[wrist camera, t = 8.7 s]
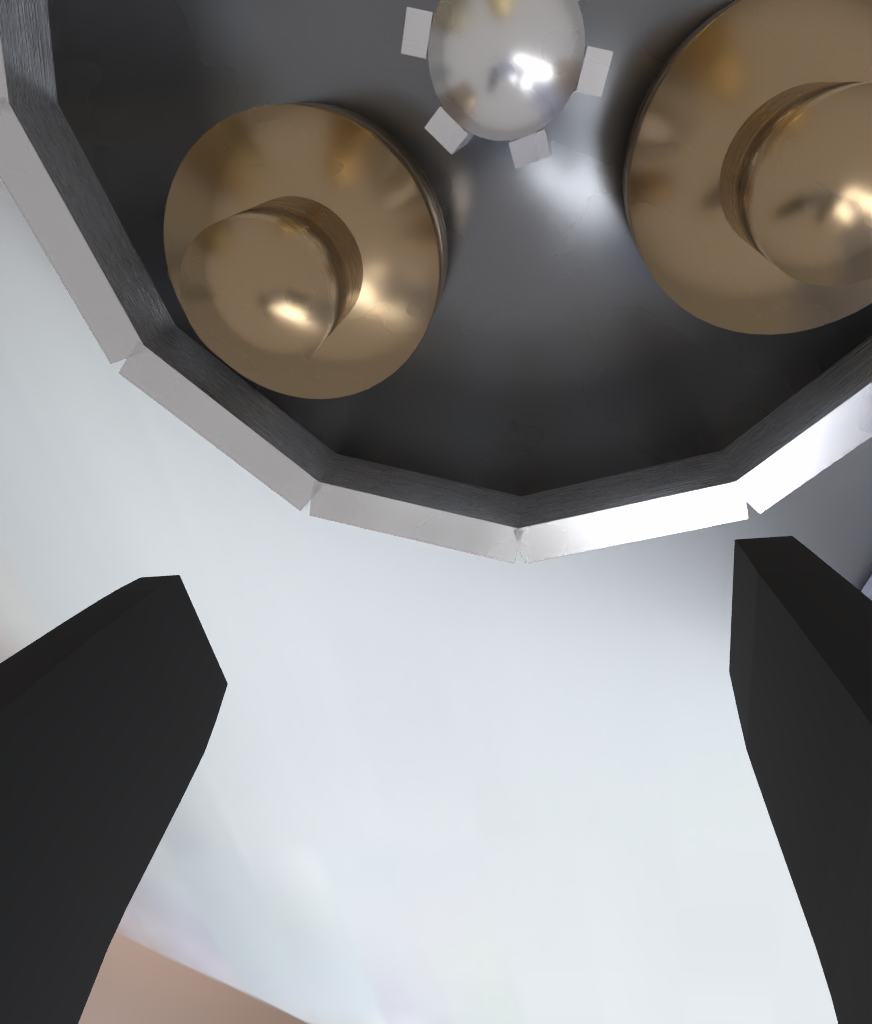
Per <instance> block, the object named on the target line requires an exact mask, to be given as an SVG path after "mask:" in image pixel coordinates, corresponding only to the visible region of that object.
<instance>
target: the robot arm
mask: <svg viewBox="0 0 872 1024" xmlns="http://www.w3.org/2000/svg"><path fill="white" fill-rule="evenodd" d="M729 672H730V677H731V681H732V686H733V691H734V696H735V700H736V705H737V710H738V714H739V719H740V723H741V727H742V732H743V736H744V740H745V745H746V749H747V752H748V755H749V758H750V761H751V764H752V767H753V770H754V773H755V776H756V778H757V781H758V784H759V787H760V790H761V793H762V796H763V799H764V801H765V804H766V807H767V810H768V813H769V816H770V819H771V821H772V824H773V827H774V830H775V833H776V836H777V838H778V841H779V844H780V847H781V850H782V853H783V855H784V858H785V861H786V864H787V867H788V870H789V872H790V875H791V878H792V881H793V884H794V887H795V889H796V892H797V895H798V898H799V901H800V904H801V906H802V909H803V912H804V915H805V918H806V920H807V923H808V926H809V929H810V932H811V935H812V937H813V940H814V943H815V946H816V949H817V952H818V955H819V959H820V962H821V965H822V968H823V972H824V975H825V978H826V981H827V984H828V988H829V991H830V994H831V997H832V1001H833V1005H834V1009H835V1013H836V1017H837V1020H838V1024H872V575H871V577H870V578H869V580H868V581H867V583H866V584H865V586H864V587H863V589H862V590H861V591H859V590H858V589H857V588H856V587H854V586H853V585H852V584H851V583H849V582H848V581H847V580H846V579H844V578H843V577H842V576H841V575H840V574H838V573H837V572H836V571H835V570H833V569H832V568H831V567H830V566H829V565H827V564H826V563H825V562H824V561H822V560H821V559H820V558H819V557H818V556H816V555H815V554H814V553H813V552H812V551H810V550H809V549H808V548H807V547H805V546H804V545H803V544H802V543H800V542H799V541H798V540H797V539H795V538H794V537H793V536H785V537H769V538H753V539H738V540H735V548H734V571H733V595H732V619H731V643H730V666H729ZM226 687H227V681H226V679H225V677H224V675H223V672H222V670H221V668H220V666H219V663H218V661H217V659H216V657H215V654H214V652H213V650H212V647H211V645H210V643H209V641H208V638H207V636H206V634H205V632H204V629H203V627H202V625H201V623H200V620H199V618H198V616H197V614H196V611H195V609H194V607H193V605H192V602H191V600H190V598H189V596H188V593H187V591H186V589H185V587H184V584H183V582H182V580H181V577H180V575H173V576H158V577H142V578H139V579H137V580H135V581H133V582H131V583H129V584H127V585H125V586H123V587H121V588H120V589H118V590H116V591H114V592H113V593H111V594H109V595H107V596H106V597H104V598H102V599H101V600H99V601H97V602H96V603H94V604H93V605H91V606H89V607H88V608H86V609H84V610H83V611H81V612H80V613H78V614H76V615H75V616H73V617H72V618H70V619H69V620H67V621H65V622H64V623H62V624H61V625H59V626H58V627H56V628H55V629H53V630H51V631H50V632H48V633H47V634H45V635H44V636H42V637H41V638H39V639H37V640H36V641H34V642H33V643H31V644H30V645H28V646H27V647H25V648H23V649H22V650H20V651H19V652H17V653H16V654H14V655H13V656H11V657H10V658H8V659H6V660H5V661H3V662H2V663H0V1024H78V1022H79V1020H80V1017H81V1015H82V1012H83V1009H84V1007H85V1004H86V1002H87V999H88V997H89V994H90V992H91V989H92V987H93V984H94V982H95V979H96V977H97V974H98V972H99V969H100V966H101V964H102V962H103V959H104V956H105V954H106V952H107V949H108V947H109V945H110V942H111V940H112V938H113V936H114V934H115V932H116V929H117V927H118V925H119V923H120V921H121V919H122V916H123V914H124V912H125V910H126V908H127V906H128V904H129V902H130V900H131V898H132V896H133V894H134V892H135V890H136V888H137V886H138V884H139V882H140V880H141V878H142V876H143V874H144V872H145V870H146V868H147V866H148V864H149V862H150V860H151V859H152V857H153V855H154V853H155V851H156V849H157V847H158V845H159V843H160V841H161V839H162V837H163V835H164V833H165V831H166V829H167V827H168V825H169V823H170V821H171V819H172V817H173V815H174V813H175V811H176V809H177V807H178V805H179V803H180V801H181V799H182V797H183V795H184V793H185V791H186V789H187V787H188V785H189V783H190V781H191V779H192V777H193V775H194V773H195V771H196V769H197V767H198V765H199V762H200V760H201V758H202V756H203V754H204V752H205V749H206V747H207V744H208V741H209V738H210V736H211V733H212V730H213V727H214V725H215V722H216V719H217V716H218V713H219V710H220V706H221V703H222V700H223V697H224V694H225V691H226Z"/></svg>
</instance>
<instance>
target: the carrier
mask: <svg viewBox="0 0 872 1024" xmlns="http://www.w3.org/2000/svg"><path fill="white" fill-rule="evenodd" d="M0 177H1V178H2V180H3V182H4V183H5V185H6V187H7V188H8V190H9V192H10V194H11V195H12V197H13V199H14V200H15V202H16V204H17V205H18V207H19V209H20V211H21V212H22V214H23V216H24V217H25V219H26V221H27V222H28V224H29V226H30V228H31V229H32V231H33V233H34V234H35V236H36V238H37V239H38V241H39V243H40V245H41V246H42V248H43V250H44V251H45V253H46V255H47V256H48V258H49V260H50V262H51V263H52V265H53V267H54V268H55V270H56V272H57V273H58V275H59V277H60V279H61V280H62V282H63V284H64V285H65V287H66V289H67V290H68V292H69V294H70V296H71V297H72V299H73V301H74V302H75V304H76V306H77V307H78V309H79V311H80V313H81V314H82V316H83V318H84V319H85V321H86V323H87V324H88V326H89V328H90V330H91V331H92V333H93V335H94V336H95V338H96V340H97V341H98V343H99V345H100V347H101V348H102V350H103V352H104V353H105V355H106V357H107V359H108V360H109V362H110V364H111V363H114V362H117V361H120V360H123V359H126V358H128V359H127V360H126V362H125V363H124V365H123V367H122V368H121V370H120V372H119V373H120V374H121V375H122V376H123V377H125V378H126V379H127V380H129V381H130V382H131V383H133V384H134V385H135V386H137V387H138V388H139V389H141V390H142V391H143V392H145V393H146V394H147V395H148V396H150V397H151V398H152V399H154V400H155V401H156V402H158V403H159V404H160V405H162V406H163V407H164V408H166V409H167V410H168V411H170V412H171V413H172V414H173V415H175V416H176V417H177V418H179V419H180V420H181V421H183V422H184V423H185V424H187V425H188V426H189V427H191V428H192V429H193V430H194V431H196V432H197V433H198V434H200V435H201V436H202V437H204V438H205V439H206V440H208V441H209V442H210V443H212V444H213V445H214V446H216V447H217V448H218V449H219V450H221V451H222V452H223V453H225V454H226V455H227V456H229V457H230V458H231V459H233V460H234V461H235V462H237V463H238V464H239V465H241V466H242V467H243V468H244V469H246V470H247V471H248V472H250V473H251V474H252V475H254V476H255V477H256V478H258V479H259V480H260V481H262V482H263V483H264V484H266V485H267V486H268V487H269V488H271V489H272V490H273V491H275V492H276V493H277V494H279V495H280V496H281V497H283V498H284V499H285V500H287V501H288V502H289V503H291V504H292V505H293V506H294V507H296V508H297V509H298V510H300V511H301V510H302V509H303V507H304V506H305V505H306V504H307V503H308V502H309V501H310V500H311V507H310V516H314V517H319V518H323V519H327V520H331V521H336V522H340V523H344V524H348V525H353V526H357V527H361V528H365V529H370V530H374V531H378V532H383V533H387V534H391V535H395V536H400V537H404V538H408V539H412V540H417V541H421V542H425V543H429V544H434V545H438V546H442V547H446V548H451V549H455V550H459V551H463V552H468V553H472V554H476V555H480V556H485V557H489V558H493V559H497V560H502V561H506V562H510V563H514V561H515V558H516V554H517V551H518V548H519V550H520V553H521V556H522V559H523V562H524V563H529V562H534V561H539V560H544V559H549V558H554V557H559V556H564V555H569V554H574V553H580V552H585V551H590V550H595V549H600V548H605V547H610V546H615V545H620V544H625V543H630V542H635V541H640V540H645V539H650V538H655V537H660V536H665V535H670V534H675V533H680V532H685V531H690V530H695V529H700V528H705V527H710V526H715V525H720V524H725V523H730V522H735V521H740V520H745V519H748V512H747V506H746V501H747V502H748V503H749V504H750V505H751V506H752V507H753V508H754V509H755V510H756V511H757V512H758V513H759V514H761V513H762V512H764V511H765V510H766V509H768V508H769V507H771V506H772V505H774V504H775V503H777V502H778V501H779V500H781V499H782V498H784V497H785V496H787V495H788V494H790V493H791V492H792V491H794V490H795V489H797V488H798V487H800V486H801V485H803V484H804V483H805V482H807V481H808V480H810V479H811V478H813V477H814V476H816V475H817V474H818V473H820V472H821V471H823V470H824V469H826V468H827V467H829V466H830V465H831V464H833V463H834V462H836V461H837V460H839V459H840V458H842V457H843V456H845V455H846V454H847V453H849V452H850V451H852V450H853V449H855V448H856V447H858V446H859V445H860V444H862V443H863V442H865V441H866V440H868V439H869V438H871V437H872V0H0Z"/></svg>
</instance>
